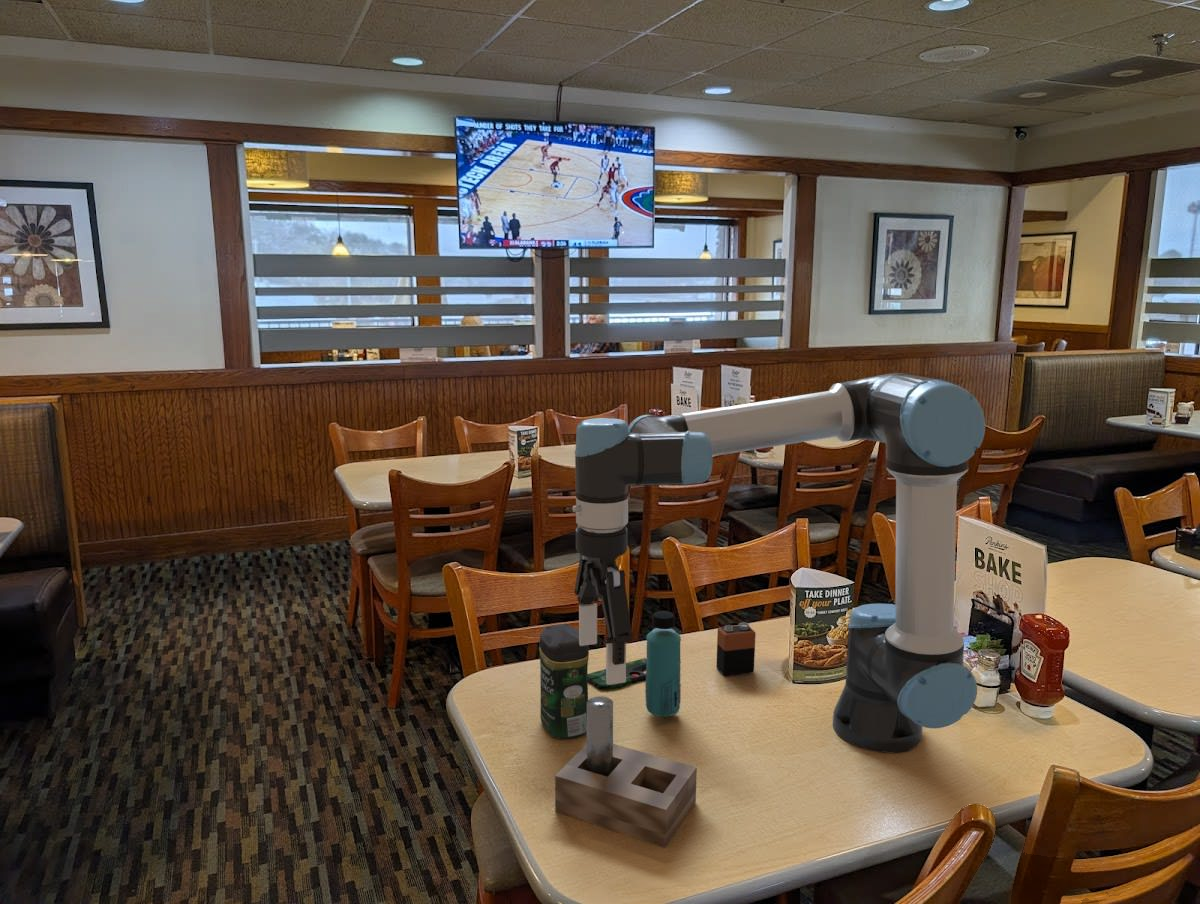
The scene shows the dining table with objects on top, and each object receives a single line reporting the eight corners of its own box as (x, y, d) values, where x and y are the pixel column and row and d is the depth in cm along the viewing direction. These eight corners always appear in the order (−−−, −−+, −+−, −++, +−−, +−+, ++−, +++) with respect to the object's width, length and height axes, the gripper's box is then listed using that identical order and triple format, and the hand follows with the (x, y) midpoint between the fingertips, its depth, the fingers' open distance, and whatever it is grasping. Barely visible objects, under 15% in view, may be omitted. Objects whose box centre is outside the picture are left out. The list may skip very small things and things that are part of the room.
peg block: (695, 802, 130) (696, 767, 129) (665, 847, 119) (666, 809, 118) (592, 771, 138) (592, 738, 137) (555, 811, 128) (555, 775, 126)
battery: (754, 673, 173) (756, 627, 171) (723, 677, 171) (725, 631, 169) (745, 664, 177) (747, 619, 175) (715, 667, 175) (717, 622, 173)
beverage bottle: (678, 726, 152) (680, 622, 148) (641, 722, 153) (643, 619, 149) (682, 708, 158) (684, 608, 154) (647, 705, 160) (648, 605, 156)
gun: (608, 693, 162) (582, 673, 170) (608, 700, 162) (582, 679, 171) (676, 673, 171) (647, 654, 179) (676, 679, 171) (647, 661, 179)
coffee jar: (534, 718, 155) (533, 623, 151) (575, 710, 158) (575, 617, 154) (552, 745, 146) (551, 644, 142) (594, 736, 149) (594, 637, 145)
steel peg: (617, 782, 131) (617, 700, 128) (605, 796, 128) (605, 712, 125) (594, 775, 133) (594, 694, 130) (582, 789, 129) (582, 705, 126)
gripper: (554, 506, 133) (555, 632, 137) (603, 554, 109) (603, 705, 114) (600, 502, 135) (599, 627, 139) (657, 548, 112) (655, 696, 116)
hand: (601, 662), depth 126 cm, fingers open, 13 cm apart
